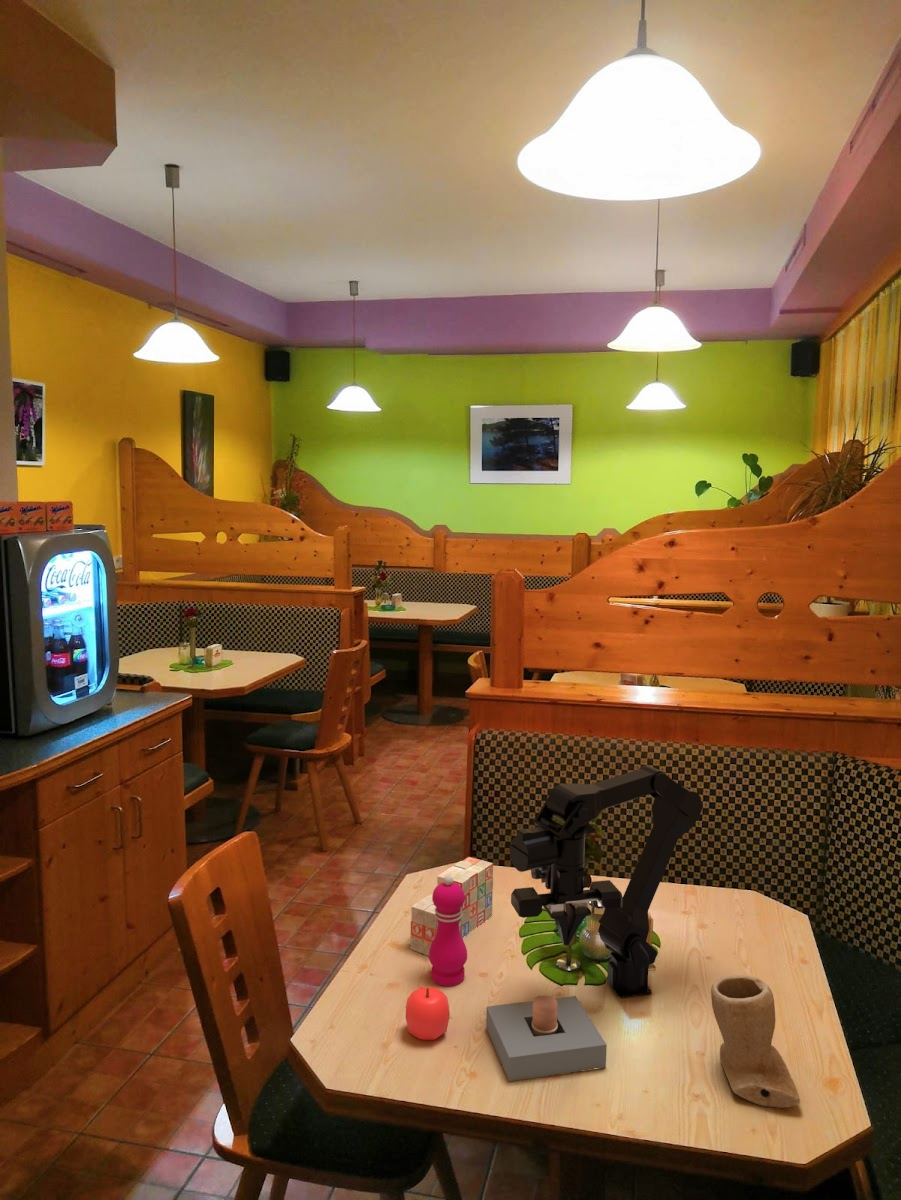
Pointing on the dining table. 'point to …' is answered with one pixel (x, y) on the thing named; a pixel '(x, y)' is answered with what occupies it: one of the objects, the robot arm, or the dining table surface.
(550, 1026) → the peg
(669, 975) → the dining table surface
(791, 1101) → the clay pipe bowl
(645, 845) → the robot arm
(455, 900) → the pepper mill
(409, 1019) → the apple
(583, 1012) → the hole block
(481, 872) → the stack of blocks
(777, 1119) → the dining table surface
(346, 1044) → the dining table surface
